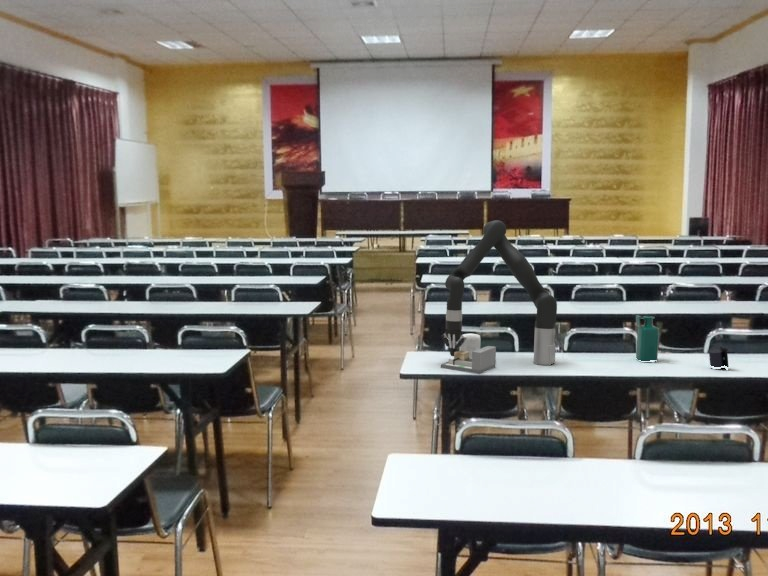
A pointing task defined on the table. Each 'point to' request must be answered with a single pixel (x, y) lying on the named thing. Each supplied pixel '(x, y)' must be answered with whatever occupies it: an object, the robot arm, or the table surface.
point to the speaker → (718, 357)
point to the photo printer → (471, 343)
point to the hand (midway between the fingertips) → (453, 355)
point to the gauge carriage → (461, 356)
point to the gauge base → (475, 361)
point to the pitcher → (647, 339)
